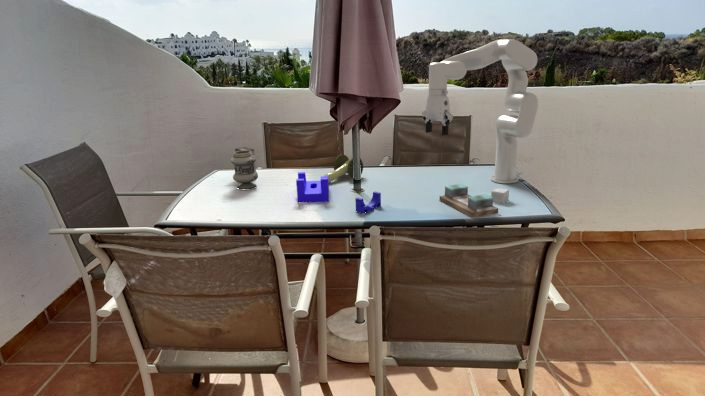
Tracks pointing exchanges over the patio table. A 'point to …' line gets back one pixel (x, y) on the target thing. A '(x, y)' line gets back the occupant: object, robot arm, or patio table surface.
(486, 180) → the patio table surface
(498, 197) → the small box
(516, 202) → the patio table surface
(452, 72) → the robot arm
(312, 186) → the bracket
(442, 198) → the board
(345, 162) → the cannon
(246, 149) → the grey brown jug
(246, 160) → the apothecary jar
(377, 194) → the blue u-shaped piece
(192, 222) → the patio table surface
